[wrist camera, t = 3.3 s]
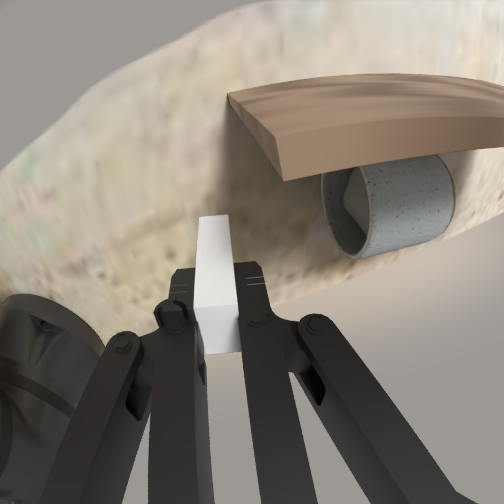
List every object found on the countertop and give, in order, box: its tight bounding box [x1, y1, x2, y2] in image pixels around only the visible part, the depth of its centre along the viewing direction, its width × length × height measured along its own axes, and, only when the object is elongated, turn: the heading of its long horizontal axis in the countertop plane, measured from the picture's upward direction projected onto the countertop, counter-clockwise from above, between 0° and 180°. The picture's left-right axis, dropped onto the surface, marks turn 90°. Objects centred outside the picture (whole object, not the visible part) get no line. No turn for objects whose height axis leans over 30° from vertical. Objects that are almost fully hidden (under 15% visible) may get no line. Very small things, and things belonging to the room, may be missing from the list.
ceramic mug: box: [321, 154, 455, 259], centre depth 17 cm, size 11×8×8 cm
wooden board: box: [227, 74, 504, 181], centre depth 11 cm, size 24×1×15 cm, turn 102°
